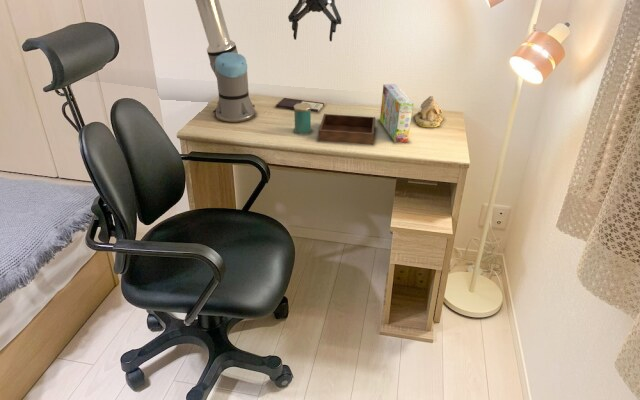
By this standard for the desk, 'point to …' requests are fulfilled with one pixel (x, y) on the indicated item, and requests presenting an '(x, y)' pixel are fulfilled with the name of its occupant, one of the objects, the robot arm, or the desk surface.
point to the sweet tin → (302, 118)
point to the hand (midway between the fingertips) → (312, 38)
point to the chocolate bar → (290, 103)
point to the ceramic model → (429, 114)
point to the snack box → (396, 112)
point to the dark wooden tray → (347, 129)
